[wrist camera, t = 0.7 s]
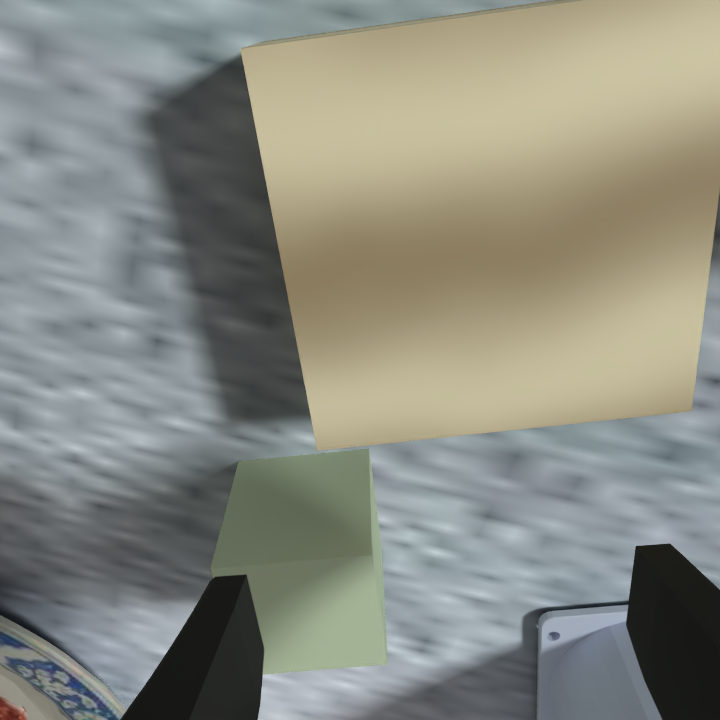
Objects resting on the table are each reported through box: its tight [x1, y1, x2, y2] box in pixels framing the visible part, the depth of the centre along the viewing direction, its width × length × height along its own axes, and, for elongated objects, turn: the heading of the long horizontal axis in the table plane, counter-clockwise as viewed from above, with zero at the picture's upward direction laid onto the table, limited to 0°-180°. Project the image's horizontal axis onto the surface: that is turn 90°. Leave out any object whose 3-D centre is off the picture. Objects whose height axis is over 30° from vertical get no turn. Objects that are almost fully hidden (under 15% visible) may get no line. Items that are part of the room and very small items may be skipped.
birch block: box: [241, 0, 720, 451], centre depth 17 cm, size 10×10×4 cm
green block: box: [210, 449, 387, 674], centre depth 21 cm, size 4×4×5 cm
